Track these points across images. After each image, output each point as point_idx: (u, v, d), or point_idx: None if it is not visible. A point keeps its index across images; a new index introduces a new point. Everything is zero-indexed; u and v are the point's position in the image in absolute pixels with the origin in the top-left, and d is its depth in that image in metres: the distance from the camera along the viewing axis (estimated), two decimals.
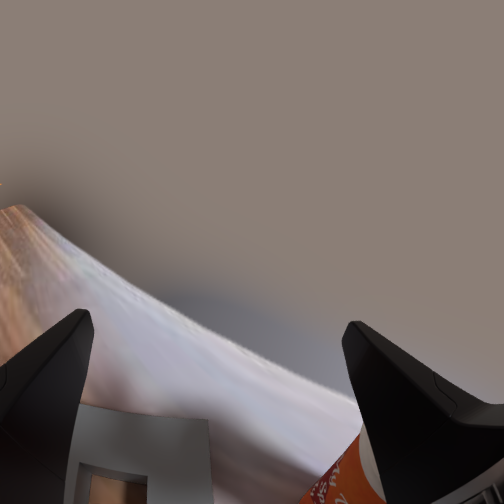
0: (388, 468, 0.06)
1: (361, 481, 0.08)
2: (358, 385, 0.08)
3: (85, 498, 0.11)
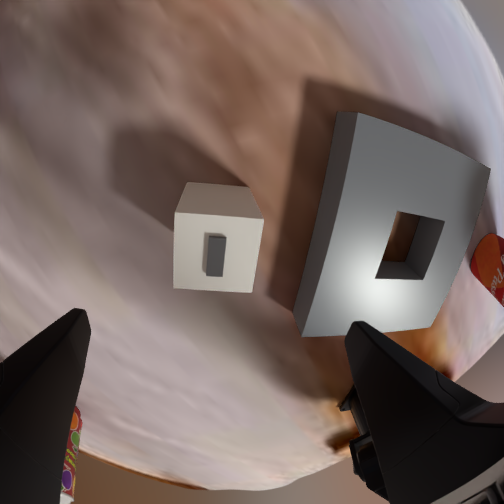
0: (391, 467, 0.06)
1: None
2: (361, 384, 0.08)
3: None
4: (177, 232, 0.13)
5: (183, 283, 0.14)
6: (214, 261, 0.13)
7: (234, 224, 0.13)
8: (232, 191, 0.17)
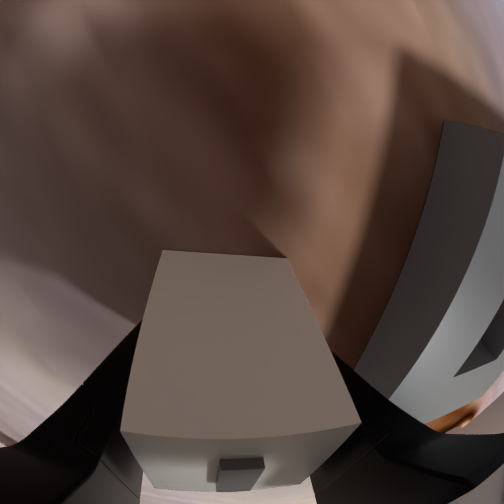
0: (321, 488, 0.05)
1: None
2: None
3: None
4: (140, 453, 0.04)
5: (173, 487, 0.05)
6: (234, 484, 0.04)
7: (287, 443, 0.04)
8: (259, 283, 0.08)
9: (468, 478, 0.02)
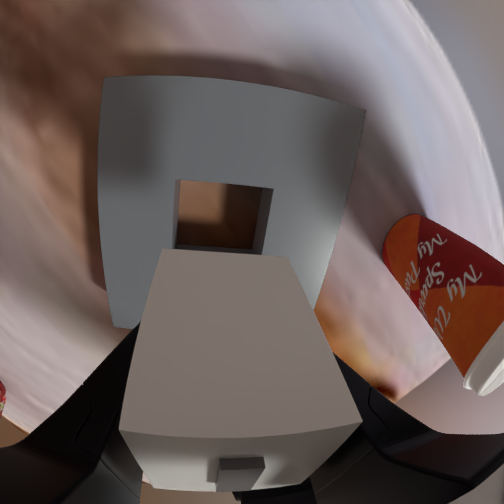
0: (321, 488, 0.05)
1: (470, 341, 0.11)
2: None
3: (177, 212, 0.17)
4: (139, 452, 0.04)
5: (172, 487, 0.05)
6: (234, 484, 0.04)
7: (287, 442, 0.04)
8: (259, 281, 0.08)
9: (468, 478, 0.02)
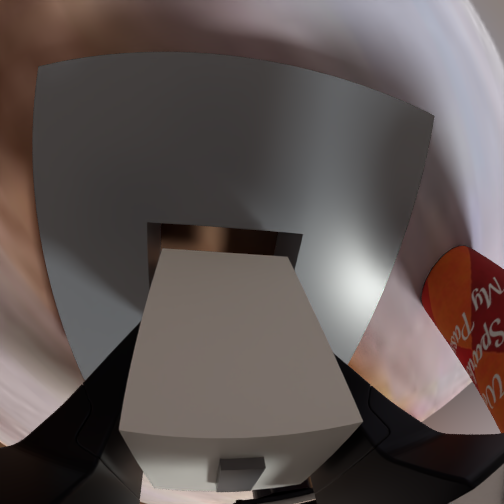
0: (321, 488, 0.05)
1: None
2: None
3: (158, 260, 0.12)
4: (139, 452, 0.04)
5: (172, 487, 0.05)
6: (234, 484, 0.04)
7: (287, 442, 0.04)
8: (259, 281, 0.08)
9: (468, 478, 0.02)
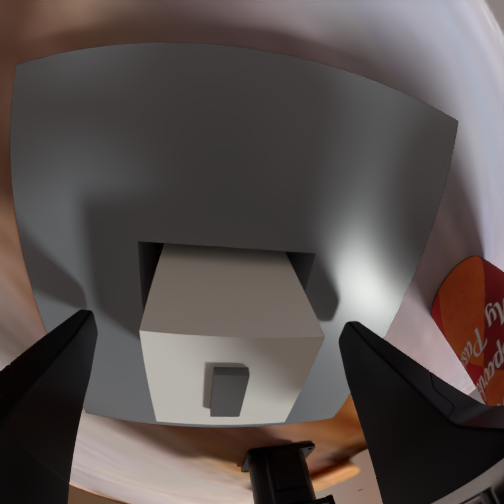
0: (385, 469, 0.06)
1: None
2: (355, 386, 0.08)
3: None
4: (150, 361, 0.06)
5: (172, 418, 0.07)
6: (225, 402, 0.06)
7: (266, 349, 0.06)
8: None
9: None
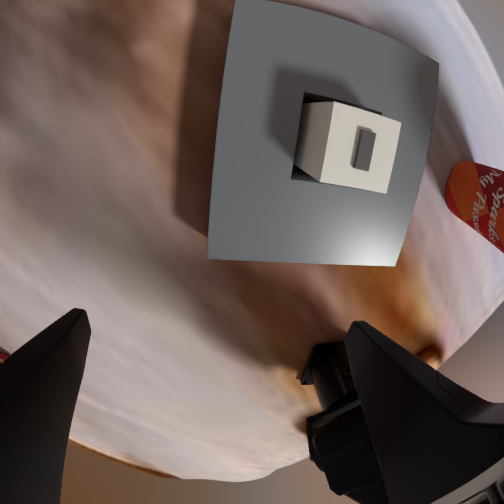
0: (391, 467, 0.06)
1: None
2: (361, 385, 0.08)
3: None
4: (334, 121, 0.12)
5: (330, 177, 0.13)
6: (364, 153, 0.12)
7: (380, 122, 0.12)
8: None
9: None
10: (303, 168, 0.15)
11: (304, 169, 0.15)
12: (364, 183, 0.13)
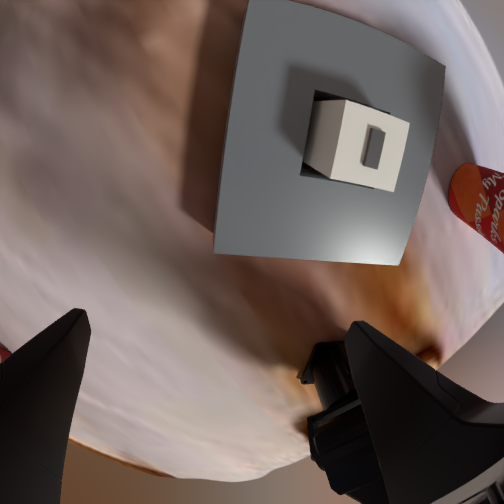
0: (391, 467, 0.06)
1: None
2: (361, 384, 0.08)
3: None
4: (345, 119, 0.12)
5: (341, 174, 0.13)
6: (374, 152, 0.12)
7: (390, 122, 0.12)
8: None
9: None
10: (312, 165, 0.15)
11: (313, 166, 0.15)
12: (373, 181, 0.13)
